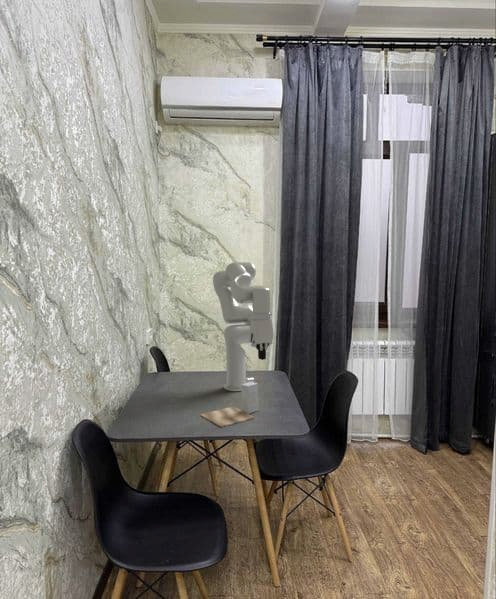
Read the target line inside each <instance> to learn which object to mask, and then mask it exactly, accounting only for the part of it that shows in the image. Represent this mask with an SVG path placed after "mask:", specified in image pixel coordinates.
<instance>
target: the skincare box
mask: <svg viewBox="0 0 496 599" xmlns="http://www.w3.org/2000/svg"><path fill="white" fill-rule="evenodd" d="M240 392H241V411H243V412H245V413H247V414H249V415H251V413H252V414H253V413H255V412H258V411H259V385H258V382H254V381H253V382H248V383H245V384H241V391H240Z"/></svg>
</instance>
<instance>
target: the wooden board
mask: <svg viewBox="0 0 496 599" xmlns="http://www.w3.org/2000/svg"><path fill="white" fill-rule="evenodd" d="M200 417H203V418H204V419H205V420H207V421H209V422H211V423H212V424H213V425H216V426H218V427H219V428H224V426H225V427H229V426H231V425H235V424H238V423H242V422H247V421H249V420H254V419H255V416H253V415H251V414H247V413H245V412H243V411H242V409H239V408H237V407H235V406H230V407H224V408H222V409H217V410H214V411H209V412H205V413H201V414H200ZM228 425H229V426H228Z"/></svg>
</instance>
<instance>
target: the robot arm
mask: <svg viewBox="0 0 496 599" xmlns="http://www.w3.org/2000/svg"><path fill="white" fill-rule="evenodd" d="M255 276H256V267H255V265H254V264H253V263H251V262H250V261H246V262H245V261H243V262H237V261H236V262H231V263H229V264H228V265H227V266H226V267H225V270H221V271H216V272H215V273H214V274H213V277H212V284H213V285H212V286H213V288H214V291H215V293H216V296H217V297H218V300H219V303H220V308H221V313H222V318H223V320H224V322H225V323H226V324H228V326H226V328H224V331H223V337H224V342H225V350H226V351H225V353H226V354H225V355H226V383H225V384H223V388H224V390H226V391H230V392H242V391H241V384H245V383H248V382H254V381H255V378H254V377H247V376H246V375H247V373H246V372H247V366H246V365H247V364H246V362H247V360H246V355H247V354H246V351H245V349H244V348H243V347H242V346H241V345H243V344H250V346H251V347H253V348H255V349H256V350H257V356H258V359H259V360H262V361H263V360H267V359H266V358H267V350H268V347H269V346H270V345H273V341H274V327H273V321H272V319H271V317H272V316H273V313H272V312H271V291H270V290H271V289H270V288H269V287H264V286H263V285H251V283H252V280H254V278H255ZM250 304H252V305H250Z"/></svg>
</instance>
